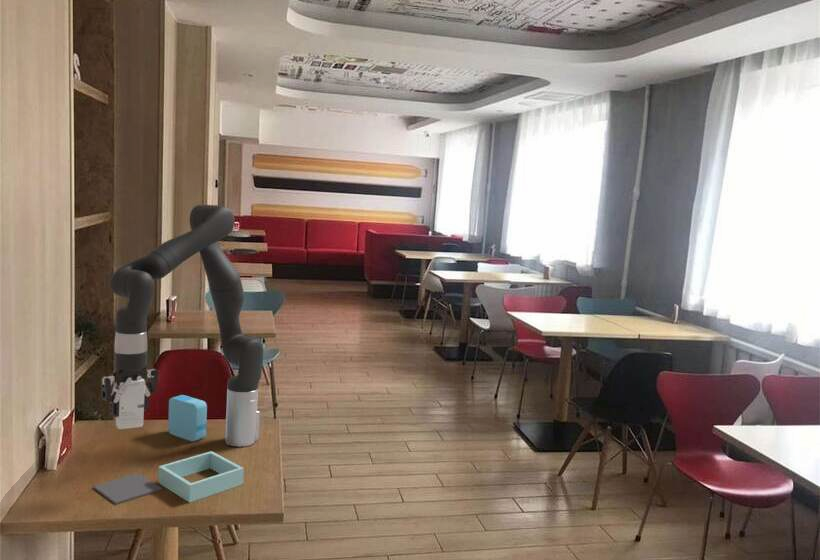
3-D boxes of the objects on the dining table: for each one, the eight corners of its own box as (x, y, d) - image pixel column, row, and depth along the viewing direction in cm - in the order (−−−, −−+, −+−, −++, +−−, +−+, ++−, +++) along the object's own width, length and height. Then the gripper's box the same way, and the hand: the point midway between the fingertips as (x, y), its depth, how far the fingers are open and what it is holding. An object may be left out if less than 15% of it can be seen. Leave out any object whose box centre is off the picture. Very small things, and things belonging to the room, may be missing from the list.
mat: (138, 474, 178) (138, 473, 178) (161, 490, 170) (161, 488, 170) (93, 487, 169) (93, 486, 169) (116, 504, 161) (116, 502, 161)
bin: (211, 466, 186) (211, 451, 186) (243, 484, 177) (243, 468, 176) (158, 482, 174) (158, 466, 174) (189, 502, 165) (190, 485, 164)
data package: (206, 438, 206) (207, 401, 204) (195, 443, 202) (196, 405, 201) (179, 429, 212) (180, 393, 210) (167, 433, 208) (168, 396, 206)
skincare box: (118, 430, 164) (119, 382, 162) (114, 424, 167) (115, 377, 166) (144, 426, 167) (145, 380, 166) (140, 421, 171) (141, 375, 169)
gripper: (150, 342, 173) (148, 403, 175) (94, 349, 162) (94, 415, 164) (165, 348, 168) (163, 411, 170) (109, 356, 157) (108, 423, 159)
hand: (129, 412), depth 167 cm, fingers closed on skincare box, 7 cm apart
